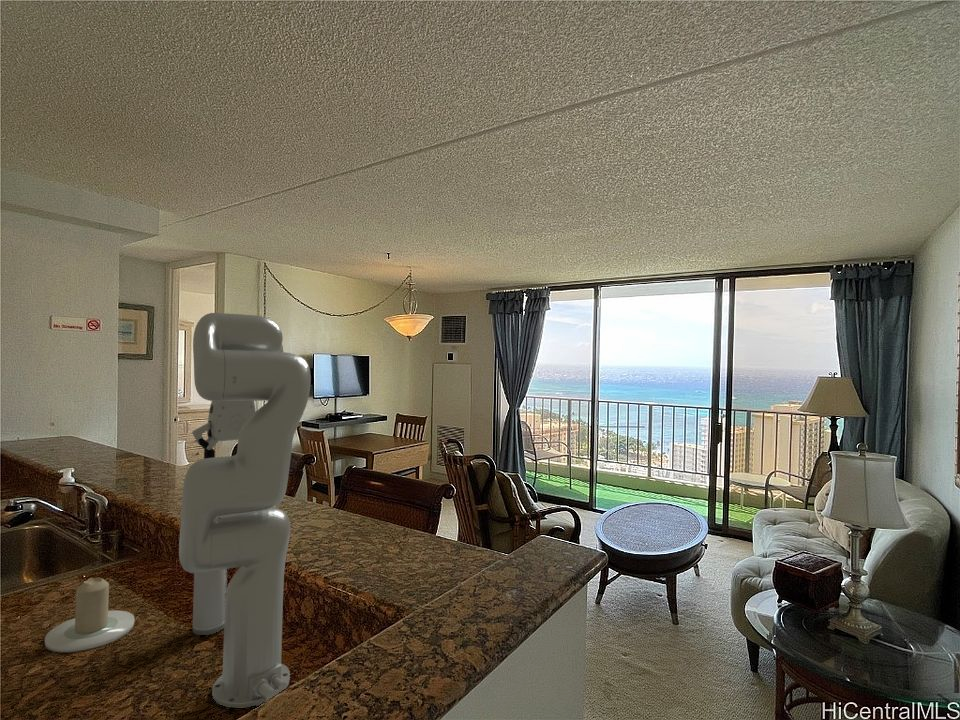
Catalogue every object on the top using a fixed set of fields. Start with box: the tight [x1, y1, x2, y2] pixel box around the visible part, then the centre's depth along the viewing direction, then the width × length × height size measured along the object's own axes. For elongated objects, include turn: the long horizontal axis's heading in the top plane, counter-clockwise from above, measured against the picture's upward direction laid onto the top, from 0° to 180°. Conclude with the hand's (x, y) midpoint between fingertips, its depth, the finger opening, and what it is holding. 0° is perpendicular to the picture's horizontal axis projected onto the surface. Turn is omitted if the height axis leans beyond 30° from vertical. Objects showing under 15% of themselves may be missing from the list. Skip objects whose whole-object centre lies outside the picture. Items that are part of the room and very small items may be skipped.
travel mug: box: [192, 569, 228, 636], centre depth 111 cm, size 6×7×20 cm
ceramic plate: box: [44, 609, 136, 653], centre depth 108 cm, size 15×15×1 cm
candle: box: [74, 577, 110, 634], centre depth 108 cm, size 6×6×10 cm
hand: (230, 463), depth 124 cm, fingers open, 9 cm apart
